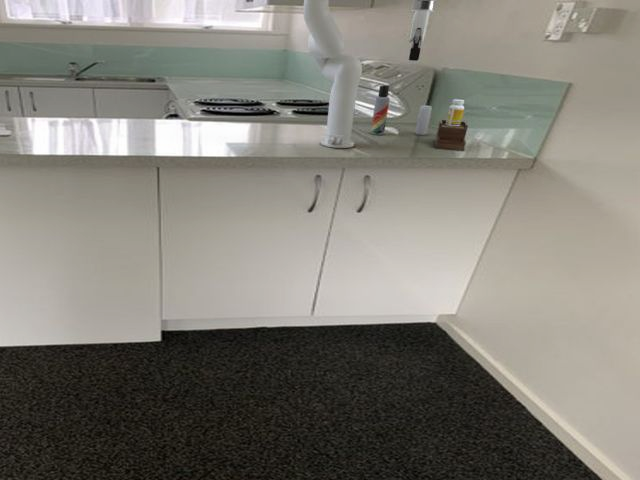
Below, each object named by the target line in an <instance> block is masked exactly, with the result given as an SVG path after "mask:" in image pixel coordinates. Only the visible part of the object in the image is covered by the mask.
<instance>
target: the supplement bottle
mask: <svg viewBox="0 0 640 480" xmlns="http://www.w3.org/2000/svg"><path fill="white" fill-rule="evenodd" d="M464 104H465V99H459V98H458V99H455V98H454V99H453V100H452V104H451V105H450V106H449V108H448V112H447V115H446V119H445V120H446V125H447V126H452V127H459V126H460V124H461V121H462V120H463V116H464V111H465V106H464Z"/></svg>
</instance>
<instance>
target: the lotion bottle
mask: <svg viewBox="0 0 640 480" xmlns="http://www.w3.org/2000/svg"><path fill="white" fill-rule="evenodd" d="M389 92H390V85H380V86H379V89H378V96H375V101H374V107H373V115H372V120H371V121H372V123H371V128H370V134H371V135H375V136H383V135H385V129H386V123H387V117H388V113H389V112H388V111H389V105H390V97H389Z"/></svg>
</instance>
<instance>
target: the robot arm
mask: <svg viewBox="0 0 640 480" xmlns="http://www.w3.org/2000/svg"><path fill="white" fill-rule="evenodd" d="M436 1H437V0H413V1H412V7H411V13H413V17H412V22H411V27H410V33H409V39H408V42H409V43H411V47H410V50H409V58H408V60H409V61H413V62H415V61H416V62H417V61H419V60H420V54H421V46H422V43H423V42H424V40H425V36H426V34H427V29H428V24H429V19H430V14H431V13H434V11H435V6H436ZM329 2H330V0H303V8H302V9H303V10H302V11H303V13H302V14H303V19H304V22H305V25H306V27H307V29H308V32H309V33H310V34H309V36H308V40H307V48H308V52H309V54H310V56H311V58H312V59H313V61H314V63H315V64H316V66H317V68H318V69H319V71H320V73H321V75H322V76H323V77H324V78H325V79H326V80H327V81H330V82H333V84H332V87H331V90H330V94H329V102H328V111H327V123H326V131H325V138H324V139H321V142H320V144H321V145H322V146H324V147H328V148H333V149H335V148H336V149H348V148H353V147H354V146H355V142H354V141H353V140H351V139H352V131H353V123H354V116H355V107H356V100H357V93H358V89H359V84H360V81H361V78H362V73H363V66H362V62H361V61H360V59H359V58H358V57H356V56H355V55H352V54H344V53H343V52H344V50H345V48H346V41H345V37H344V35H343V33H342V31H341V30H340V28H339V25H338V24H337V22H336V20H335V18H334V17H333V14H332V12H331V10H330V6H329V5H330V4H329Z"/></svg>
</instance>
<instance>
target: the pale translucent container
mask: <svg viewBox="0 0 640 480" xmlns="http://www.w3.org/2000/svg"><path fill="white" fill-rule="evenodd" d="M432 107H433V106H432V105H426V104H425V105H423V104H422V105H420V107H419V112H418V115H417V121H416V127H415V132H414V134H415V135H417V136H426V135H427V134H428V130H429V129H428V128H429V124H430V119H431V114H432V109H433V108H432Z"/></svg>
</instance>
